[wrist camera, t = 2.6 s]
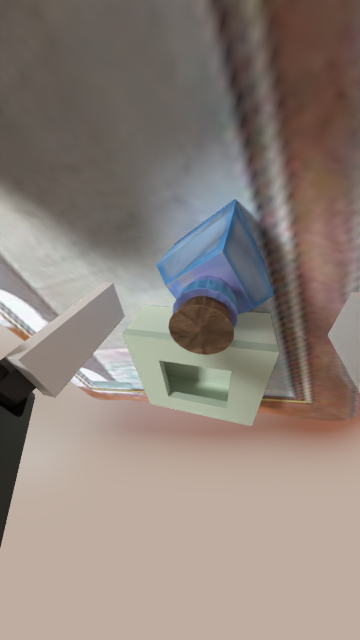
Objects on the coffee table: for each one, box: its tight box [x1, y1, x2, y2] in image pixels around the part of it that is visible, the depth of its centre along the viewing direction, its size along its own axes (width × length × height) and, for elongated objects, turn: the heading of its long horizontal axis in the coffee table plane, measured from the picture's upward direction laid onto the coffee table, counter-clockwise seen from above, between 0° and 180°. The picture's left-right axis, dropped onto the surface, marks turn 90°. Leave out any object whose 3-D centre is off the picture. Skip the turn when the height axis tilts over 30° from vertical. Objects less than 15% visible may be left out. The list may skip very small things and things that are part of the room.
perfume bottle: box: [156, 199, 274, 355], centre depth 13 cm, size 6×6×12 cm
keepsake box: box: [122, 305, 280, 426], centre depth 25 cm, size 16×16×6 cm
